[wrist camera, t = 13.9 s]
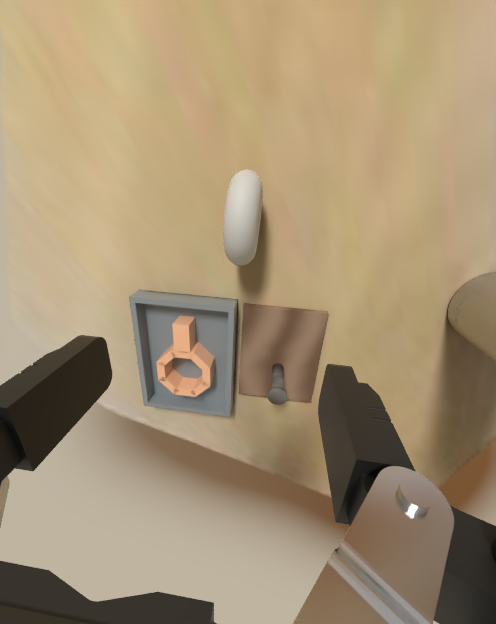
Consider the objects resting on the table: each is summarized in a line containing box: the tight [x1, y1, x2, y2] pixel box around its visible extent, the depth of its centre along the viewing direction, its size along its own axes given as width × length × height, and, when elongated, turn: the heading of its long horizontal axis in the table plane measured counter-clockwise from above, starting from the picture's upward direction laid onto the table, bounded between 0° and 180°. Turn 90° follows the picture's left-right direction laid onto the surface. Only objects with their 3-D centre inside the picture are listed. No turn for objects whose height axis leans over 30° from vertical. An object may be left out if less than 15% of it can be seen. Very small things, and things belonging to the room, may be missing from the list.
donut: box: [223, 170, 263, 266], centre depth 29 cm, size 10×4×10 cm, turn 175°
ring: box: [156, 315, 215, 397], centre depth 41 cm, size 8×13×3 cm, turn 177°
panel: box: [239, 303, 329, 405], centre depth 38 cm, size 12×16×8 cm
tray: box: [129, 290, 238, 417], centre depth 42 cm, size 15×20×3 cm
